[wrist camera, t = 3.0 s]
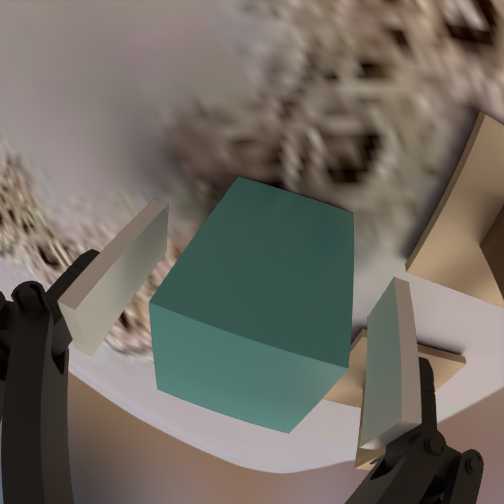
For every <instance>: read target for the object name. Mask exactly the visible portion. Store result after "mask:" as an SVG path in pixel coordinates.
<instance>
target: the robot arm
mask: <svg viewBox="0 0 504 504" xmlns="http://www.w3.org/2000/svg"><path fill="white" fill-rule="evenodd" d="M168 206H169V204H167V203H164V202H161V201H158V200H154V199H153V200H152V201H151V202H150V203H149V204H148V205H147V206H146V207H145V208H144V209H143V210H142V211H141V212H140V213H139V214H138V215H137V216H136V217H135V218H134V219H133V220H132V221H131V222H130V223H129V224H128V225H127V226H126V227H125V228H124V229H123V230H122V231H121V232H120V233H119V234H118V235H117V236H116V237H115V238H114V239H113V240H112V241H111V242H110V243H109V244H108V245H107V246H106V247H105V248H104V249H103V250H102V251H101V252H98V251H96V250H93V249H91V250H89V251H87V252H85V253H83V254H81V255H80V256H79V257H78V258H77V259H76V260H75V261H74V262H73V264H72V265H71V266H70V267H69V268H68V269H67V270H66V272H64V273H63V274H62V275H61V276H60V277H59V278H58V280H57V281H56V282H55V283H54V284H53V285H52V286H51V287H50V288H49V289H48V291H47V292H45V290H44V288H43V286H42V284H40V283H38V282H36V281H26V282H23V283H21V284H19V285H18V286H17V287H16V288H15V289H14V290H13V292H12V294H11V297H12V299H13V301H14V302H11V301H6V299H5V297H4V295H3V293H2V292H1V291H0V422H1V419H2V437H1V467H2V488H3V500H4V504H74V500H73V493H72V484H71V475H70V464H69V449H68V428H67V427H68V426H67V387H68V363H69V348H68V345H69V344H70V343H71V341H72V340H73V342H74V345H75V347H76V349H78V350H80V351H82V352H84V353H86V354H87V355H89V356H91V357H92V356H93V354H94V353H95V351H96V350H97V348H98V347H99V345H100V344H101V342H102V341H103V339H104V338H105V337H106V335H107V334H108V332H109V331H110V329H111V328H112V326H113V325H114V323H115V322H116V320H117V319H118V318H119V316H120V315H121V313H122V312H123V310H124V309H125V308H126V306H127V305H128V303H129V302H130V301H131V299H132V298H133V296H134V295H135V294H136V292H137V291H138V289H139V288H140V287H141V285H142V284H143V283H144V281H145V280H146V279H147V277H148V276H149V274H150V273H151V272H152V270H153V269H154V268H155V266H156V265H157V264H158V262H159V261H160V260H161V258H162V257H163V256H164V254H165V253H166V252H167V226H168ZM434 393H435V386H434V374H433V369H432V367H431V365H430V362H429V360H428V359H426V358H422V357H418V349H417V339H416V330H415V322H414V314H413V307H412V300H411V294H410V288H409V282H407V281H404V280H402V279H399V278H396V277H393V279H392V281H391V282H390V284H389V285H388V287H387V289H386V290H385V292H384V293H383V295H382V296H381V298H380V299H379V301H378V302H377V304H376V305H375V307H374V308H373V310H372V311H371V313H370V314H369V316H368V317H367V361H366V382H365V397H364V410H363V421H362V431H361V441H360V448H365V449H372V450H379V449H381V448H382V447H384V446H386V452H385V454H384V455H382V456H380V457H378V458H376V459H374V460H373V461H372V462H370V464H371V465H372V464H375V463H376V464H375V466H374V467H373V468H372V470H371V471H370V472H369V474H368V475H367V476H366V478H365V479H364V480H363V482H362V483H361V484H360V485H359V487H358V488H357V489H356V490H355V492H354V493H353V494H352V495H351V497H350V498H349V499H348V500H347V501H346V503H345V504H476V501H477V496H478V493H479V488H480V484H481V479H482V474H483V466H484V463H483V459H482V456H481V455H480V453H479V452H477V451H476V450H473V449H470V450H467V451H465V452H463V453H460V452H458V451H456V450H454V449H452V448H450V447H448V446H447V445H446V441H445V439H444V437H443V435H442V434H441V433H440V432H439V431H437V418H436V399H435V394H434ZM2 415H3V416H2Z"/></svg>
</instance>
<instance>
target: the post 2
mask: <svg viewBox="0 0 504 504" xmlns="http://www.w3.org/2000/svg"><path fill="white" fill-rule="evenodd" d="M405 267H406V272H407V273H410V274H412V275H415V276H418V277H421V278H424V279H426V280H429V281H432V282H435V283H437V284H440V285H443V286H446V287H448V288H451V289H454V290H456V291H459V292H462V293H464V294H467V295H470V296H472V297H475V298H478V299H480V300H483V301H486V302H488V303H491V304H493V305H496V306H498V307H501V308H504V125H502V124H501V123H499V122H497V121H496V120H494V119H493V118H491V117H489V116H488V115H486V114H484V113H483V112H481V111H480V112H479V115H478V118H477V120H476V123H475V125H474V128H473V130H472V133H471V135H470V138H469V140H468V142H467V145H466V147H465V150H464V152H463V154H462V156H461V159H460V161H459V163H458V165H457V167H456V170H455V172H454V174H453V176H452V178H451V180H450V182H449V184H448V186H447V188H446V191H445V193H444V195H443V197H442V199H441V200H440V202H439V204H438V206H437V208H436V210H435V212H434V214H433V216H432V218H431V220H430V221H429V223H428V225H427V227H426V229H425V231H424V232H423V234H422V236H421V238H420V240H419V241H418V243H417V245H416V246H415V248H414V250H413V252H412V253H411V255H410V257H409V258H408V260H407V262H406V263H405Z"/></svg>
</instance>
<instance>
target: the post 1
mask: <svg viewBox="0 0 504 504" xmlns="http://www.w3.org/2000/svg"><path fill="white" fill-rule="evenodd" d="M417 349H418V357H422V358H426V359H428V360H429V362H430V365H431V367H432V369H433V374H434V386H435V391H436V390H437V389H439V388H440V387H441V386H442V385H443V384H445V383H446V382H447V381H448V380H449V379H450V378H451V377H453V376H454V375H455V374H456V373H457V372H458V371H459V370H460V369H462V368H463V367H464V366H465V365H466V359H465V357H464V356H460V355H456V354H452V353H449V352H445V351H441V350H437V349H434V348H430V347H426V346H422V345H419V344H417ZM366 361H367V330H366V329H362V330H361V332H360V333H359V335H358V336H357V337H356V339H355V340H354V341H353V343H352V344H351V345H350V357H349V369H348V370H347V371H346V372H345V373H344V375H343V376H342V377H341V378H340V379H339V380H338V382H337V383H336V384H335V385H334V386H333V387H332V388H331V389H330V391H329V392H328V393H327V394H326V395H325V396H324V397H323V398H322V399H324V400H328V401H333V402H337V403H341V404H345V405H350V406H354V407H359V408H361V418H360V428H359V437H358V445H357V453H356V462H355V468H356V469H364V470H372V468H373V467H374V466H375V464H376V463H375V464H372V465H371V464H370V462H372V461H373V460H374V459H376V458H378V457H380V456H382V455H384V454H385V452H386V446H384V447H382V448H381V449H379V450H372V449H365V448H360V441H361V431H362V421H363V410H364V397H365V382H366Z"/></svg>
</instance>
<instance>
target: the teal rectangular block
mask: <svg viewBox="0 0 504 504" xmlns="http://www.w3.org/2000/svg"><path fill="white" fill-rule="evenodd" d="M353 275H354V224H353V213H352V212H349V211H346V210H343V209H340V208H337V207H334V206H331V205H328V204H325V203H323V202H320V201H317V200H313V199H310V198H307V197H304V196H301V195H298V194H295V193H292V192H289V191H286V190H282V189H279V188H276V187H273V186H269V185H266V184H263V183H259V182H256V181H253V180H249V179H246V178H243V177H238V178H237V179H236V180H235V182H234V183H233V184H232V186H231V187H230V188H229V190H228V191H227V192H226V194H225V195H224V196H223V198H222V199H221V200H220V202H219V203H218V205H217V206H216V207H215V209H214V210H213V211H212V213H211V214H210V215H209V217H208V218H207V220H206V221H205V222H204V224H203V225H202V226H201V228H200V229H199V231H198V232H197V233H196V235H195V236H194V238H193V239H192V240H191V242H190V243H189V245H188V246H187V247H186V249H185V250H184V252H183V253H182V255H181V256H180V257H179V259H178V260H177V262H176V263H175V265H174V266H173V267H172V269H171V270H170V272H169V273H168V275H167V276H166V278H165V279H164V281H163V282H162V284H161V285H160V286H159V288H158V289H157V291H156V292H155V294H154V295H153V297H152V298H151V300H150V301H149V311H150V324H151V336H152V346H153V356H154V365H155V374H156V382H157V389H158V390H161V391H163V392H166V393H168V394H170V395H173V396H175V397H178V398H180V399H183V400H185V401H188V402H191V403H193V404H196V405H199V406H201V407H204V408H207V409H210V410H212V411H215V412H218V413H221V414H224V415H227V416H230V417H233V418H236V419H239V420H242V421H246V422H249V423H252V424H256V425H259V426H262V427H266V428H270V429H273V430H277V431H281V432H284V433H288V434H289V433H290V432H291V431H292V430H293V429H294V428H295V427H296V426H297V425H298V424H299V423H300V422H301V421H302V420H303V418H304V417H305V416H306V415H307V414H308V413H309V412H310V411H311V410H312V409H313V408H314V407H315V406H316V405H317V404H318V403H319V402H320V401H321V399H322V398H323V397H324V396H325V395H326V394H327V393H328V392H329V391H330V389H331V388H332V387H333V386H334V385H335V384H336V383H337V382H338V380H339V379H340V378H341V377H342V376H343V375H344V373H345V372H346V371H347V370H348V369H349V357H350V344H351V328H352V308H353Z"/></svg>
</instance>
